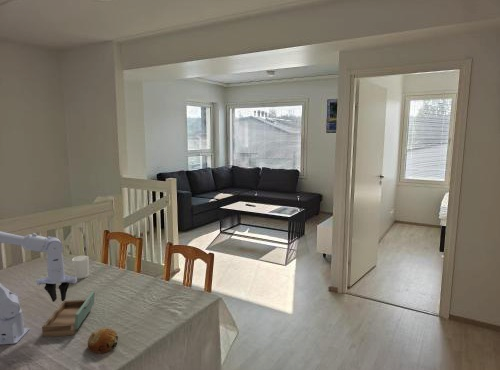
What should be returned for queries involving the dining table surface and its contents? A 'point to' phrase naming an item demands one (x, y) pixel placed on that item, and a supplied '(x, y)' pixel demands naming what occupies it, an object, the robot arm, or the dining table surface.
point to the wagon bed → (63, 319)
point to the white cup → (81, 266)
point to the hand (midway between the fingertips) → (59, 300)
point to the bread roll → (102, 340)
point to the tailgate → (84, 310)
